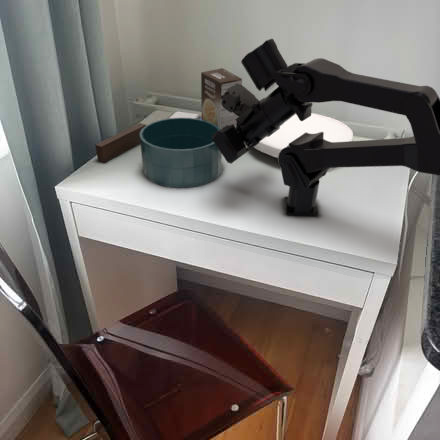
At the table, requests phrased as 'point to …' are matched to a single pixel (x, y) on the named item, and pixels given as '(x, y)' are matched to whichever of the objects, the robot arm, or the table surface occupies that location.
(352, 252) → the table surface
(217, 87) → the coffee box
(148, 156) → the bowl
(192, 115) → the smartphone
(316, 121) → the plate
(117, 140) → the back rail
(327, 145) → the robot arm
